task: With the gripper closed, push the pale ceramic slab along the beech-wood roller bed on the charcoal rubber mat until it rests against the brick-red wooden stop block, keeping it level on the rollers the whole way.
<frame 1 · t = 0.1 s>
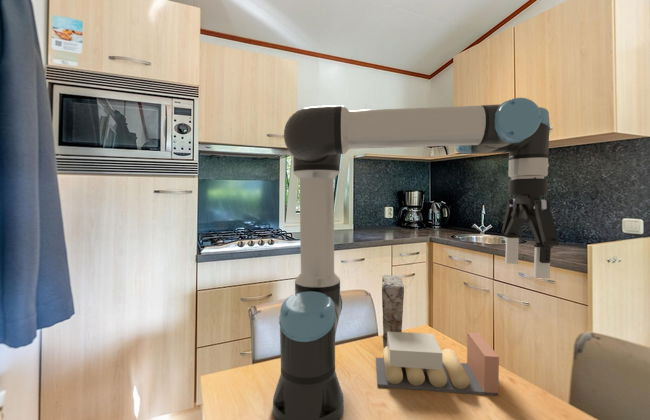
hand: (525, 269, 71), 28 cm above the table, fingers open, 13 cm apart
stop block: (481, 379, 75), resting on roller bed
roller bed: (430, 375, 77), on the table
slab: (412, 356, 77), point 5 cm above the table, touching roller bed
stone block: (391, 344, 94), on the table
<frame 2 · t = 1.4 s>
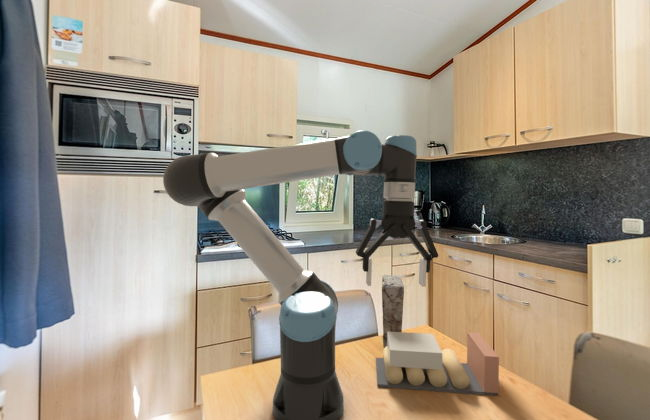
hand: (395, 284, 77), 23 cm above the table, fingers open, 13 cm apart
nothing on the table moved.
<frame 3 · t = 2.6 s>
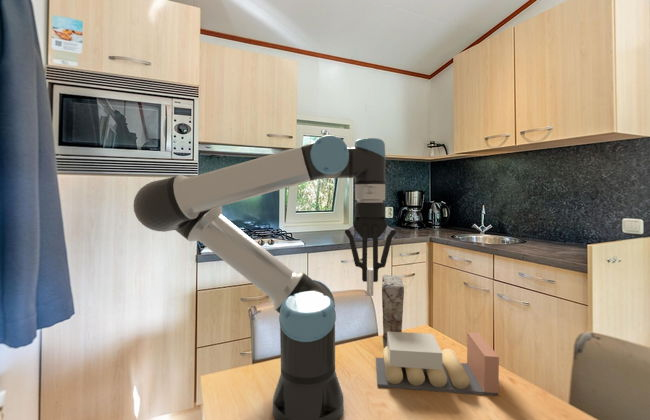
hand: (370, 293, 78), 20 cm above the table, fingers closed
nothing on the table moved.
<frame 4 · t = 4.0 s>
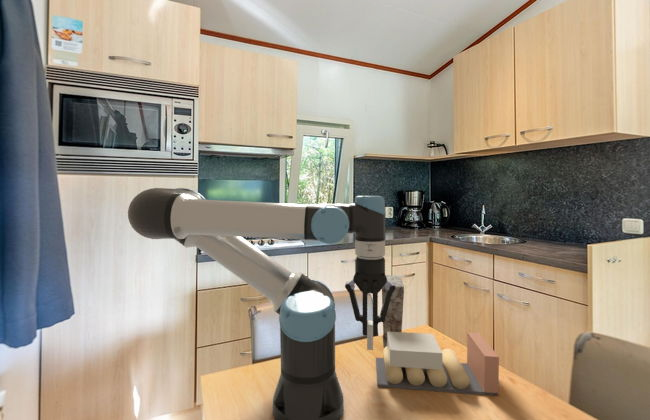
hand: (370, 347, 79), 6 cm above the table, fingers closed
nothing on the table moved.
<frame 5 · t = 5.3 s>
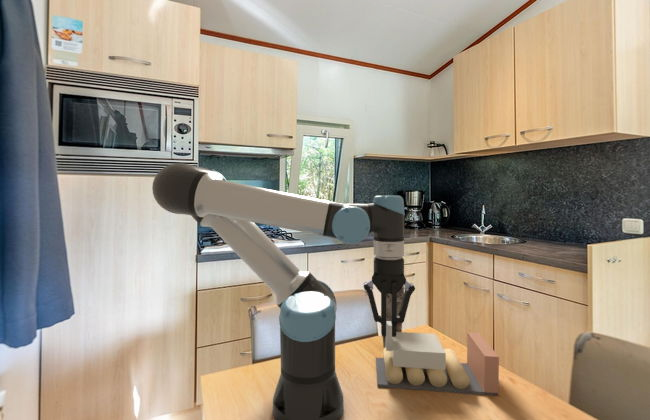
hand: (388, 348, 78), 6 cm above the table, fingers closed
slab: (415, 357, 77), point 5 cm above the table, touching gripper, roller bed
everything else where it was.
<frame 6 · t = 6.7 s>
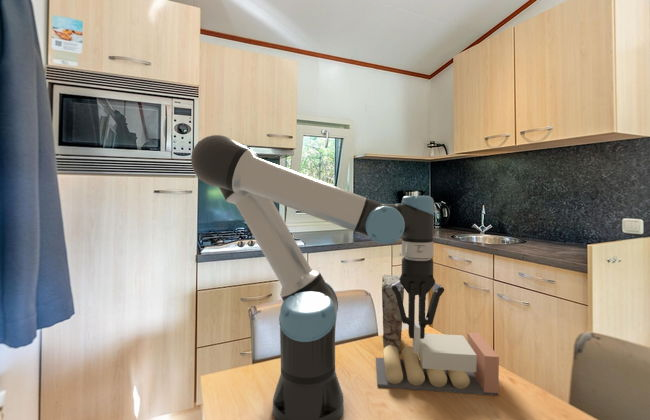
hand: (416, 350, 77), 6 cm above the table, fingers closed
slab: (443, 358, 76), point 5 cm above the table, touching gripper, roller bed
everything else where it was.
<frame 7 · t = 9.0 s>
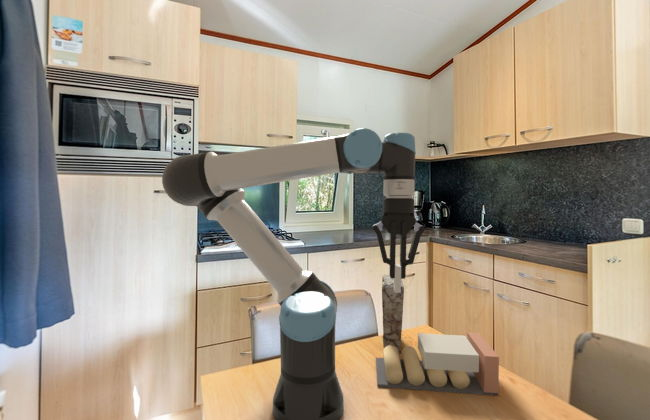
hand: (397, 290, 77), 21 cm above the table, fingers closed
slab: (445, 359, 76), point 5 cm above the table, touching roller bed
everything else where it was.
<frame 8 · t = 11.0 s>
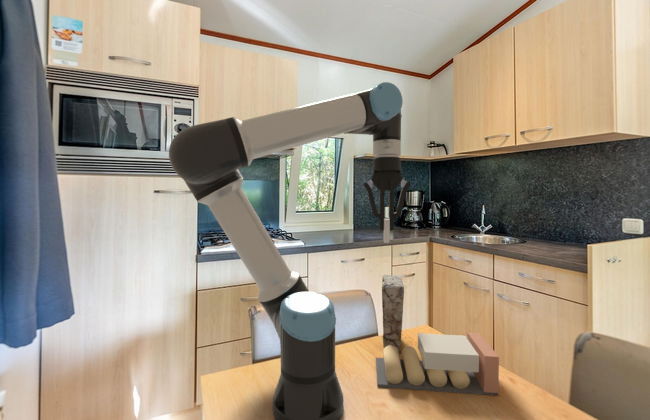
hand: (386, 242, 86), 32 cm above the table, fingers closed
nothing on the table moved.
at the end: slab inside the target area (1.2 cm from its centre), point 4.6 cm above the table; slab point 4.6 cm above the table; slab tilted 0° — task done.
